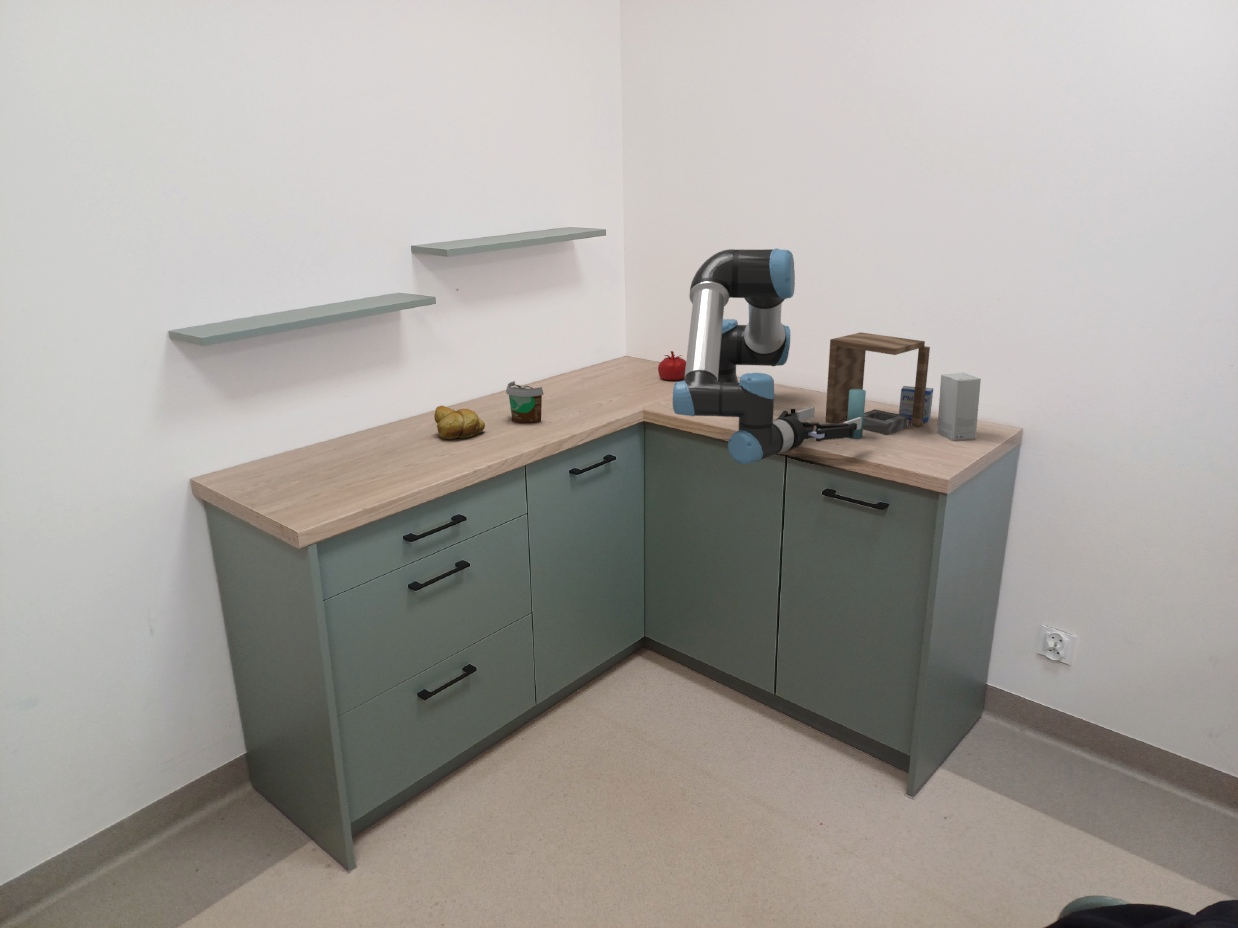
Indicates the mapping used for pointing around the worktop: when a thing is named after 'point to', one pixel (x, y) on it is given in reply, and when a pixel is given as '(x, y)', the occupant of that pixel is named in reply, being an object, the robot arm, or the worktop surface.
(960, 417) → the skincare box
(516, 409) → the food container
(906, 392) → the medicine box
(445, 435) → the bread roll
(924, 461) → the worktop surface
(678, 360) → the red tomato
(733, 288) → the robot arm
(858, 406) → the peg
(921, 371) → the wooden table arch
